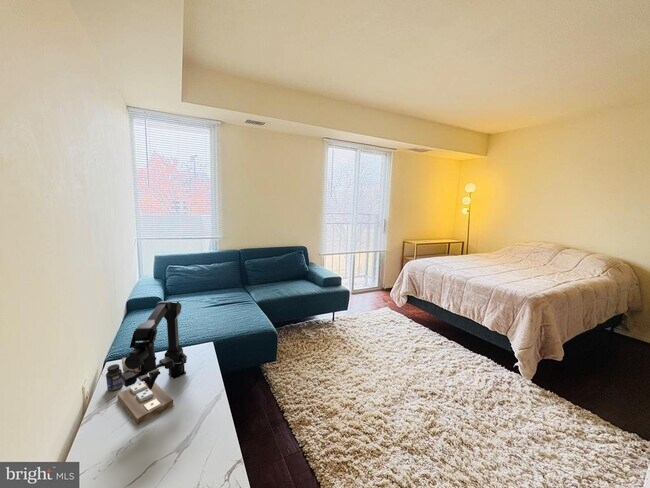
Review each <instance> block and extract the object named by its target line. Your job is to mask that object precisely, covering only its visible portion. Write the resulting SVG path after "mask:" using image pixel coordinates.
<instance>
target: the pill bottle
mask: <svg viewBox="0 0 650 488" xmlns="http://www.w3.org/2000/svg"><path fill="white" fill-rule="evenodd" d="M120 367H121V366H120V364H118V363H116V364H111V365H109V366H108V367H107V368H106V369H107V372H106V374H105V377H106V388H107V391H108V392H115V391H118V390H120V389H122V387H123V386H124V385H123V384H122V383H121V376H122V375H123V369H121V368H120Z"/></svg>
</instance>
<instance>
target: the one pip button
mask: <svg viewBox="0 0 650 488" xmlns="http://www.w3.org/2000/svg"><path fill="white" fill-rule="evenodd" d="M159 405H161V403H160V402H159V401H158V400H157V399H154V400H152V401H150V402H148V403H146V404H144V405H143V406H144V408H145V409H146V410H147V411H149V410H151V409H153V408H155V407H157V406H159Z"/></svg>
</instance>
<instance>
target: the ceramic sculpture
mask: <svg viewBox="0 0 650 488" xmlns="http://www.w3.org/2000/svg"><path fill="white" fill-rule="evenodd" d="M126 358H127V357H122V358H121V365H122V372H124V373H125V372H126V373H128V371H129V372H133V373H138V372H140V370H138V368H136V369H129V368H127V367H126V365H125V359H126Z"/></svg>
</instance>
